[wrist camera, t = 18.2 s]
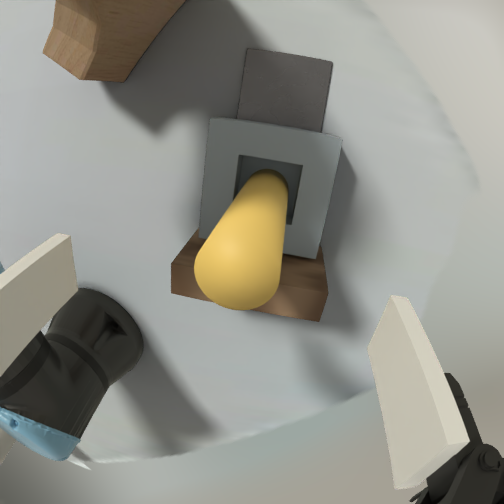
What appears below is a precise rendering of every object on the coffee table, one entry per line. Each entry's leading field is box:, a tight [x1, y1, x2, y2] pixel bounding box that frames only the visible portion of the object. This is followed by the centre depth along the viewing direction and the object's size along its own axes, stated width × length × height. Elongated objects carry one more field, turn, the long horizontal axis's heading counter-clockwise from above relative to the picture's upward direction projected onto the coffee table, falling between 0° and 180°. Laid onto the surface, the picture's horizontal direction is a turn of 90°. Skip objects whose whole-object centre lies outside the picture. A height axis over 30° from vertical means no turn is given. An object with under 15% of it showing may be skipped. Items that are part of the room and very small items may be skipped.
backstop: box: [171, 228, 328, 322], centre depth 29 cm, size 13×3×9 cm, turn 82°
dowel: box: [194, 169, 289, 310], centre depth 21 cm, size 4×4×16 cm
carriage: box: [199, 117, 343, 259], centre depth 28 cm, size 11×11×4 cm
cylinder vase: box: [0, 428, 16, 466], centre depth 54 cm, size 12×12×25 cm
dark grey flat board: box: [237, 49, 332, 133], centre depth 28 cm, size 8×19×1 cm, turn 172°
